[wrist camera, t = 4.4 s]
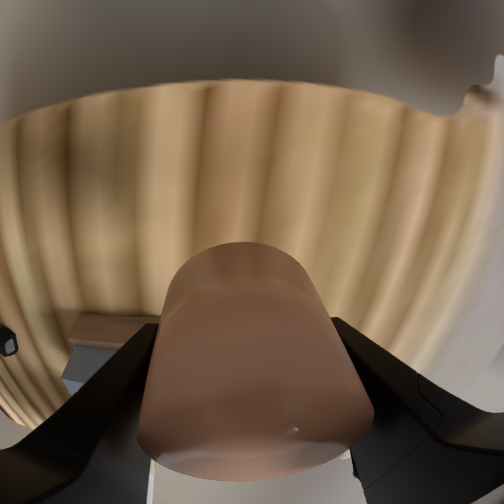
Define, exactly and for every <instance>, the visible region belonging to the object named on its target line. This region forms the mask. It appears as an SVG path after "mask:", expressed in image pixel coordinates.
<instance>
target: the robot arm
mask: <svg viewBox="0 0 504 504" xmlns="http://www.w3.org/2000/svg"><path fill="white" fill-rule="evenodd" d="M330 318H331V320H332V322H333V324H334V326H335V328H336V330H337V332H338V334H339V336H340V338H341V340H342V342H343V344H344V346H345V348H346V351H347V353H348V355H349V357H350V359H351V361H352V363H353V365H354V367H355V369H356V371H357V373H358V376H359V378H360V380H361V382H362V384H363V386H364V388H365V391H366V393H367V395H368V397H369V399H370V402H371V404H372V406H373V409H374V420H373V422H372V425H371V427H370V428H369V430H368V431H367V433H366V434H365V435H364V436H363V437H362V439H360V440H359V441H358V442H357V443H356V444H355V445H354V446H352V447H351V448H350V454H351V459H352V464H353V475H354V477H355V478H358V479H359V480H360V482H361V484H362V488H363V490H364V495H365V498H366V502H367V504H504V412H503V413H491V412H486V411H483V410H480V409H478V408H476V407H474V406H473V405H471V404H469V403H467V402H465V401H463V400H462V399H460V398H458V397H456V396H454V395H453V394H451V393H449V392H447V391H446V390H444V389H442V388H441V387H439V386H437V385H436V384H434V383H433V382H431V381H430V380H428V379H427V378H425V377H424V376H422V375H421V374H419V373H417V372H416V371H415V370H414V369H412V368H411V367H409V366H408V365H406V364H405V363H403V362H402V361H401V360H399V359H398V358H396V357H395V356H393V355H392V354H391V353H389V352H388V351H386V350H385V349H383V348H382V347H380V346H379V345H378V344H376V343H375V342H373V341H372V340H370V339H369V338H368V337H366V336H365V335H363V334H362V333H360V332H359V331H357V330H356V329H355V328H353V327H352V326H350V325H349V324H347V323H346V322H345V321H343V320H342V319H340V318H339V317H330ZM158 326H159V323H145V324H144V325H143V326H142V327H141V328H140V329H139V330H138V331H137V332H136V333H135V334H134V335H133V336H132V337H131V338H130V339H129V340H128V341H127V342H126V343H125V344H124V345H123V346H122V347H121V348H120V349H119V350H118V351H117V352H115V353H114V354H113V355H112V356H111V357H110V358H109V359H108V360H107V361H106V362H105V363H104V364H103V365H102V366H101V367H100V368H99V369H98V370H97V371H96V372H95V373H94V374H93V375H92V376H91V377H90V378H89V379H88V380H87V381H86V382H85V383H84V384H83V385H82V386H81V387H80V388H79V389H78V392H75V393H74V394H73V395H72V396H71V397H70V398H69V399H68V400H67V401H66V402H65V403H64V404H63V405H62V406H61V407H60V408H59V409H58V410H57V411H56V412H55V413H54V414H52V415H51V416H50V417H49V418H48V419H47V420H45V421H44V422H43V423H42V424H41V425H39V426H38V427H37V428H36V429H34V430H33V431H32V432H31V433H30V434H28V435H27V436H26V437H25V438H23V439H22V440H21V441H20V442H18V443H17V444H15V445H13V446H12V447H9V448H6V449H2V450H0V504H147V493H148V483H149V474H150V466H151V458H150V457H149V456H147V455H146V454H145V453H144V451H143V450H142V449H141V448H140V446H139V444H138V441H137V430H138V423H139V417H140V412H141V406H142V400H143V395H144V390H145V385H146V380H147V375H148V370H149V365H150V361H151V356H152V352H153V347H154V343H155V339H156V334H157V330H158Z"/></svg>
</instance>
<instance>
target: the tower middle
mask: <svg viewBox="0 0 504 504" xmlns="http://www.w3.org/2000/svg"><path fill="white" fill-rule="evenodd" d="M115 352H117V351H116V350H106V349H97V348H89V347H82V346H75V348H74V350H73V352H72V354H71V357H70V359H69V361H68V363H67V365H66V368H65V370H64V372H63V374H62V377H61V380H62V381H63V383H64V385H65V386H66V388H67V389H68V391H69V393H70V394H71V396H72V395H73V394H74V393H75V392H78V389H79V388H80V387H81V386H82V385H83V384H84V383H85V382H86V381H87V380H88V379H89V378H90V377H91V376H92V375H93V374H94V373H95V372H96V371H97V370H98V369H99V368H100V367H101V366H102V365H103V364H104V363H105V362H106V361H107V360H108V359H109V358H110V357H111V356H112V355H113V354H114V353H115Z"/></svg>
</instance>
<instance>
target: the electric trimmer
mask: <svg viewBox="0 0 504 504" xmlns="http://www.w3.org/2000/svg"><path fill="white" fill-rule="evenodd" d="M17 351H18V345H17V340H16V334H14V333H12V331H11V330H10V329H9V328H6V329H2V328H0V354H2V356H4V357H6V356H11V355H13V354H15V353H16V352H17Z"/></svg>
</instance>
